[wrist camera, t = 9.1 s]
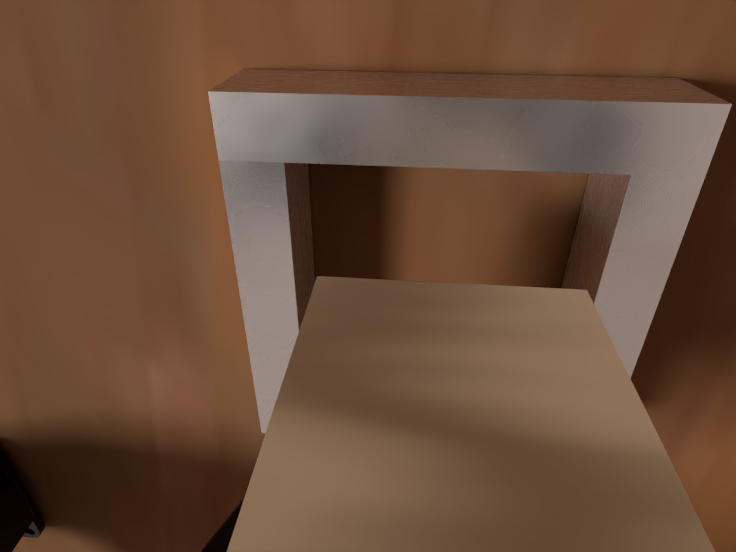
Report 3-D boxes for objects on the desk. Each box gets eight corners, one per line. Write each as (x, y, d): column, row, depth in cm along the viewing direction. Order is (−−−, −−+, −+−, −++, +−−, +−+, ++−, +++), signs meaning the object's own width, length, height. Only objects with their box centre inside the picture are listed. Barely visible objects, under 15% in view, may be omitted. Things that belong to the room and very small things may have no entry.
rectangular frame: (280, 378, 18) (261, 433, 16) (243, 68, 13) (207, 91, 11) (579, 398, 18) (600, 458, 16) (678, 77, 12) (732, 103, 10)
